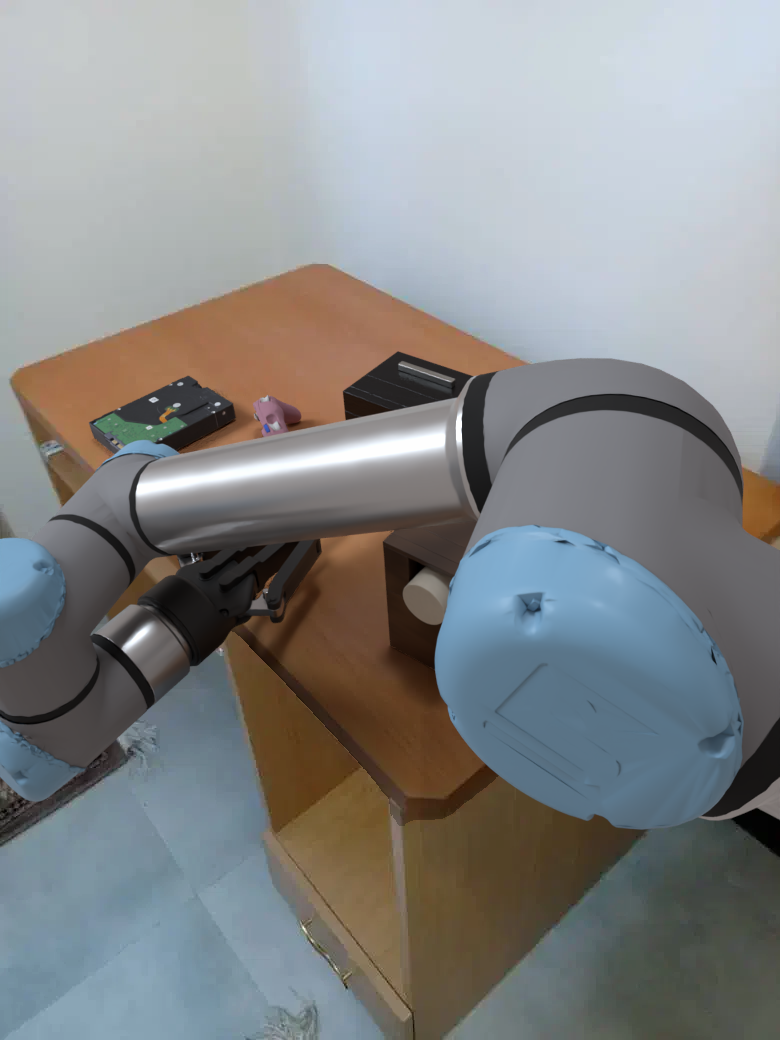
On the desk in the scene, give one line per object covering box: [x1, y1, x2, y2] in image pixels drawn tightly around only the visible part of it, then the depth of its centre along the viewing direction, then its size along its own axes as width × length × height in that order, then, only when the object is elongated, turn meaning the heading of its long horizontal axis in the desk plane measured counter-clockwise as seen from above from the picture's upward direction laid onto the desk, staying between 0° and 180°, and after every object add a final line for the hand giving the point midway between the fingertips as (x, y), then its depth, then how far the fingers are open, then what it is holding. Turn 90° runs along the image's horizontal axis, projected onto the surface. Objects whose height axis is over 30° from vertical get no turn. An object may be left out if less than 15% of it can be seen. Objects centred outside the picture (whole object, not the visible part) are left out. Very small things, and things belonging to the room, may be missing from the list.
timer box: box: [382, 521, 477, 671], centre depth 68 cm, size 10×10×13 cm
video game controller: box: [252, 394, 302, 437], centre depth 94 cm, size 10×5×7 cm, turn 17°
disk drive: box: [88, 375, 237, 455], centre depth 98 cm, size 10×3×15 cm
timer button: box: [403, 566, 452, 625], centre depth 63 cm, size 4×3×4 cm, turn 53°
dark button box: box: [342, 351, 475, 421], centre depth 87 cm, size 12×10×12 cm
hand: (341, 486), depth 80 cm, fingers closed
